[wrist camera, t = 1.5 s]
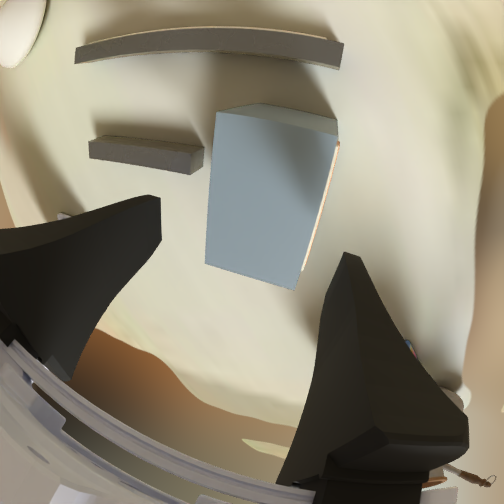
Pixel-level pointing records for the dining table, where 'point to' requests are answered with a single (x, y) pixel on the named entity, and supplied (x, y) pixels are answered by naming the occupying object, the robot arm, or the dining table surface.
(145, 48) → the price rail
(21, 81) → the dining table surface
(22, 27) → the flower in vase
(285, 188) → the carton
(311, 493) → the robot arm
